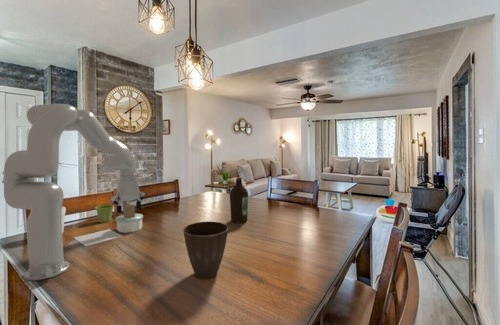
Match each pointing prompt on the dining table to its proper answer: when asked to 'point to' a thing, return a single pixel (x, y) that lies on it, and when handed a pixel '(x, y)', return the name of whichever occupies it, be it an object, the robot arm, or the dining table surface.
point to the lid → (129, 215)
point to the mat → (97, 237)
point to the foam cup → (63, 217)
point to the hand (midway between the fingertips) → (129, 211)
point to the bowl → (129, 226)
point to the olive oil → (239, 202)
